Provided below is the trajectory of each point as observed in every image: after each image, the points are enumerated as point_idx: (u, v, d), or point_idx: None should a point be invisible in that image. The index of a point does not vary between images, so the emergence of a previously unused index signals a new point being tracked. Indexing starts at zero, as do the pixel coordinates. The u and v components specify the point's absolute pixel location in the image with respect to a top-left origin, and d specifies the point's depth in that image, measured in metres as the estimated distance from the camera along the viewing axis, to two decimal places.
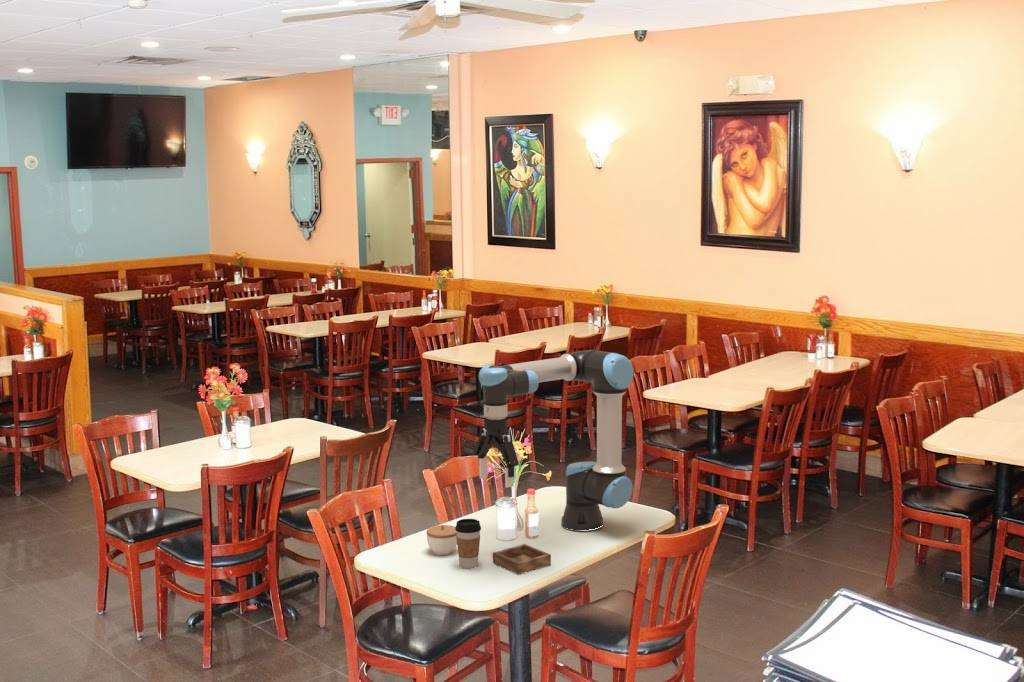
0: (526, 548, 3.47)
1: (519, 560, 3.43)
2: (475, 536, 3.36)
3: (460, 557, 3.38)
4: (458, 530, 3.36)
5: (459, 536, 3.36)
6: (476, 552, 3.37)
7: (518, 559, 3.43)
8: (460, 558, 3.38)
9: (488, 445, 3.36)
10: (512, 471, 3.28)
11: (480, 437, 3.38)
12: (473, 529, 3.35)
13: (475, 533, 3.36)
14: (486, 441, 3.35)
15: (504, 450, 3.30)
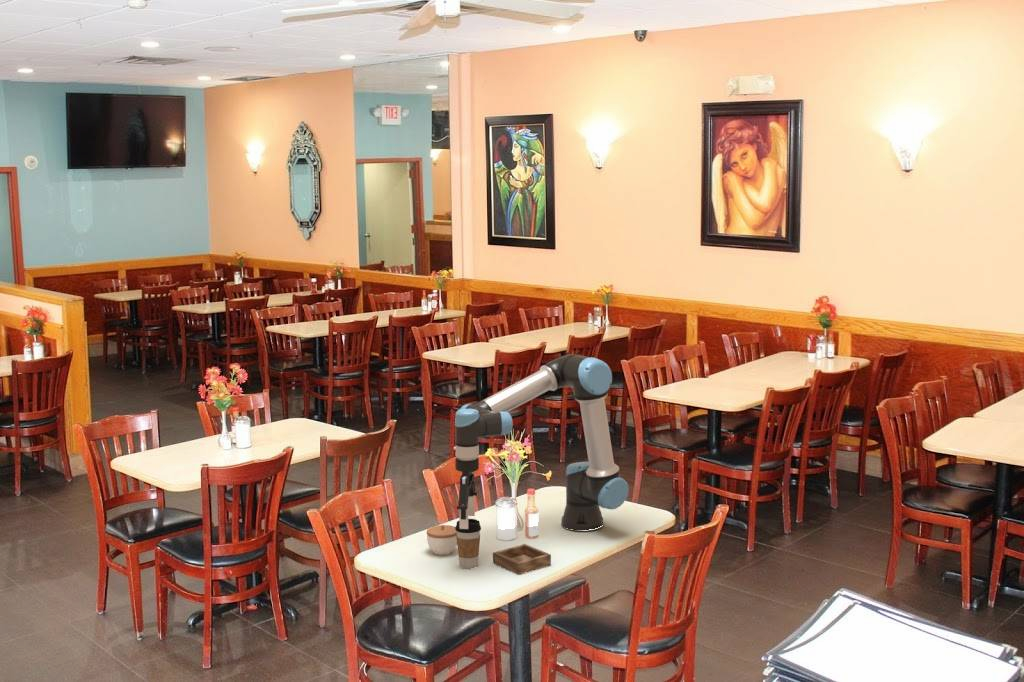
0: (526, 548, 3.47)
1: (519, 560, 3.43)
2: (475, 536, 3.36)
3: (460, 557, 3.38)
4: (458, 530, 3.36)
5: (459, 536, 3.36)
6: (476, 552, 3.37)
7: (518, 559, 3.43)
8: (460, 558, 3.38)
9: None
10: (463, 513, 3.29)
11: None
12: (473, 529, 3.35)
13: (475, 533, 3.36)
14: None
15: None
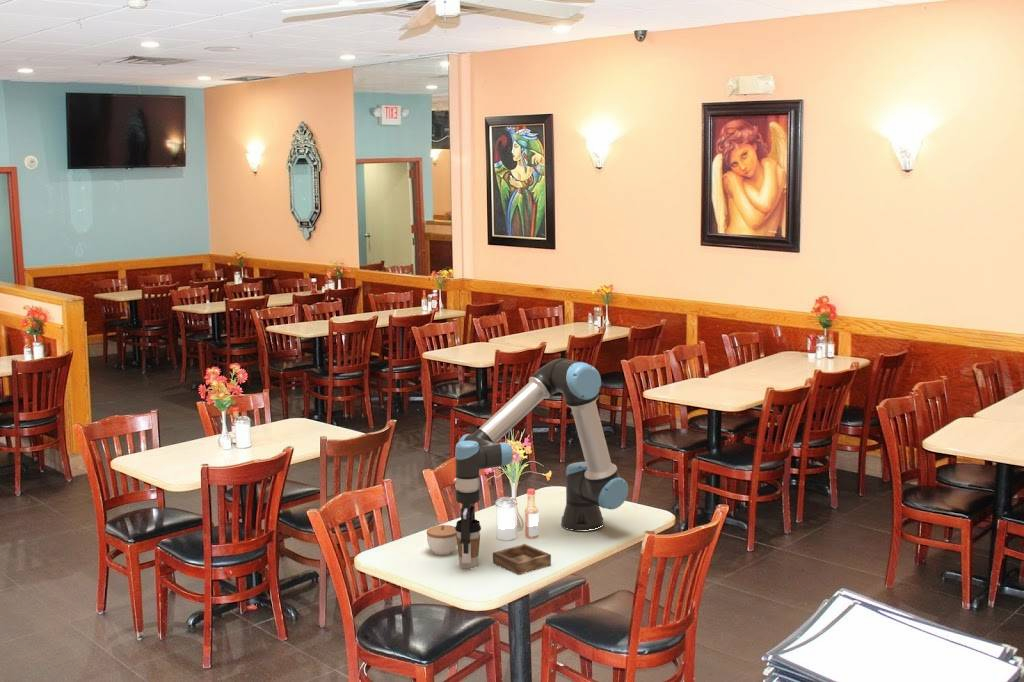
0: (526, 548, 3.47)
1: (519, 560, 3.43)
2: (475, 536, 3.36)
3: (460, 557, 3.38)
4: (458, 530, 3.36)
5: (459, 536, 3.36)
6: (476, 552, 3.37)
7: (518, 559, 3.43)
8: (460, 558, 3.38)
9: None
10: (465, 548, 3.34)
11: None
12: (473, 529, 3.35)
13: (475, 533, 3.36)
14: None
15: None
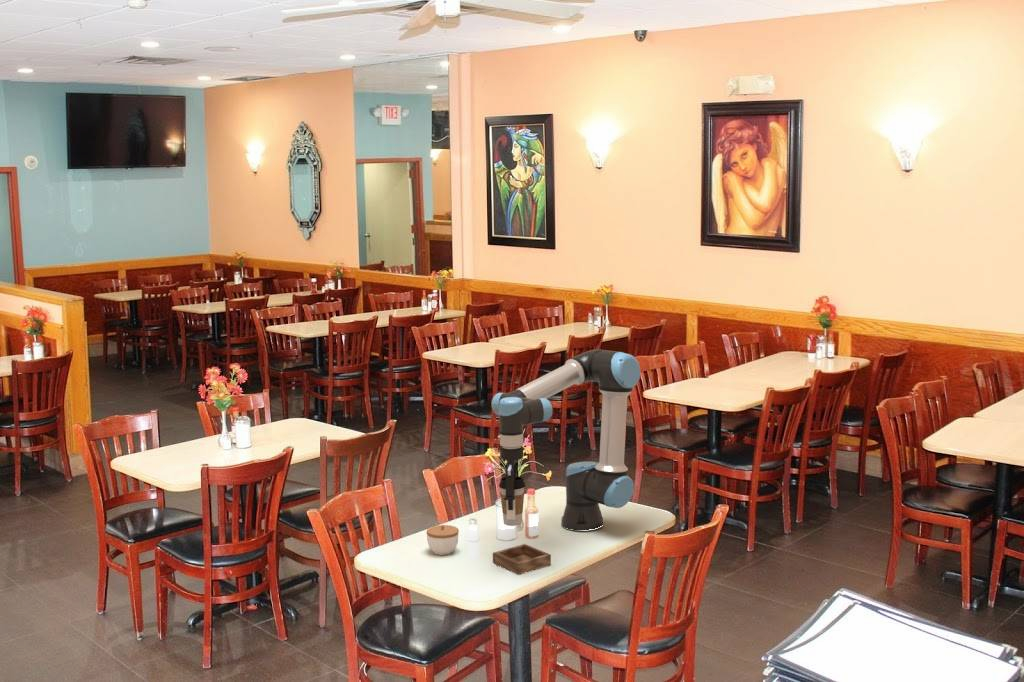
0: (526, 548, 3.47)
1: (519, 560, 3.43)
2: (519, 493, 3.35)
3: (504, 514, 3.37)
4: (502, 487, 3.35)
5: (503, 493, 3.35)
6: (520, 509, 3.36)
7: (518, 559, 3.43)
8: (504, 515, 3.37)
9: None
10: (510, 504, 3.33)
11: None
12: (518, 486, 3.34)
13: (519, 490, 3.35)
14: None
15: None
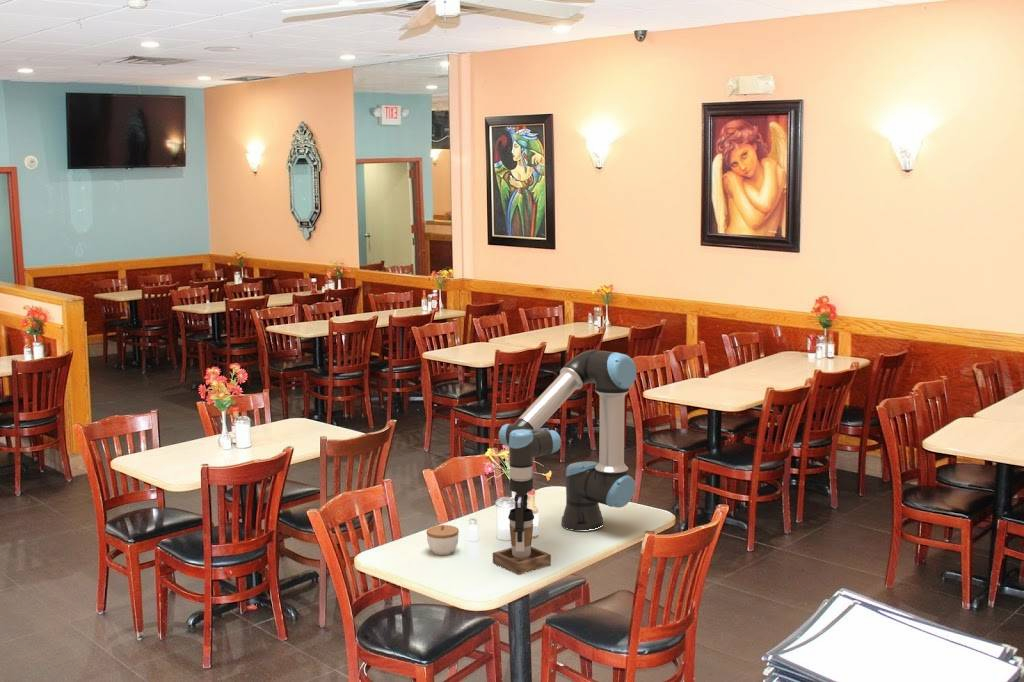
0: None
1: (519, 560, 3.43)
2: (528, 525, 3.36)
3: (513, 546, 3.38)
4: (512, 519, 3.36)
5: (512, 525, 3.37)
6: (529, 541, 3.38)
7: (518, 559, 3.43)
8: (513, 547, 3.38)
9: None
10: (519, 536, 3.34)
11: None
12: (527, 518, 3.35)
13: (528, 522, 3.36)
14: None
15: None
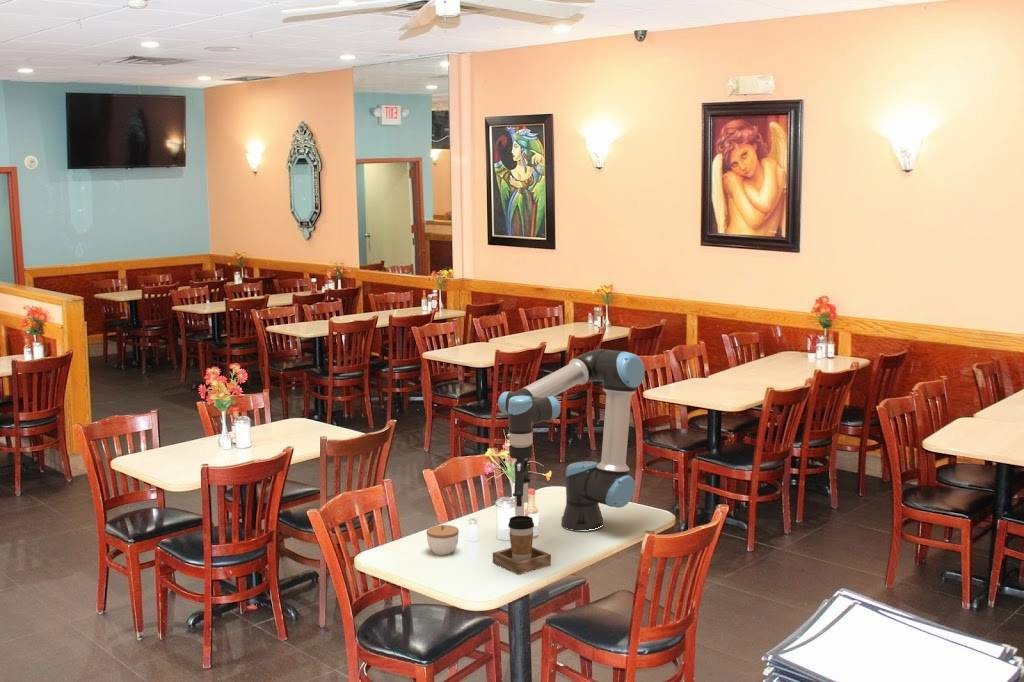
0: None
1: None
2: (529, 532, 3.37)
3: (513, 554, 3.38)
4: (512, 527, 3.36)
5: (513, 533, 3.37)
6: (530, 549, 3.38)
7: None
8: (514, 555, 3.39)
9: None
10: (519, 500, 3.30)
11: None
12: (527, 526, 3.36)
13: (529, 529, 3.36)
14: None
15: None
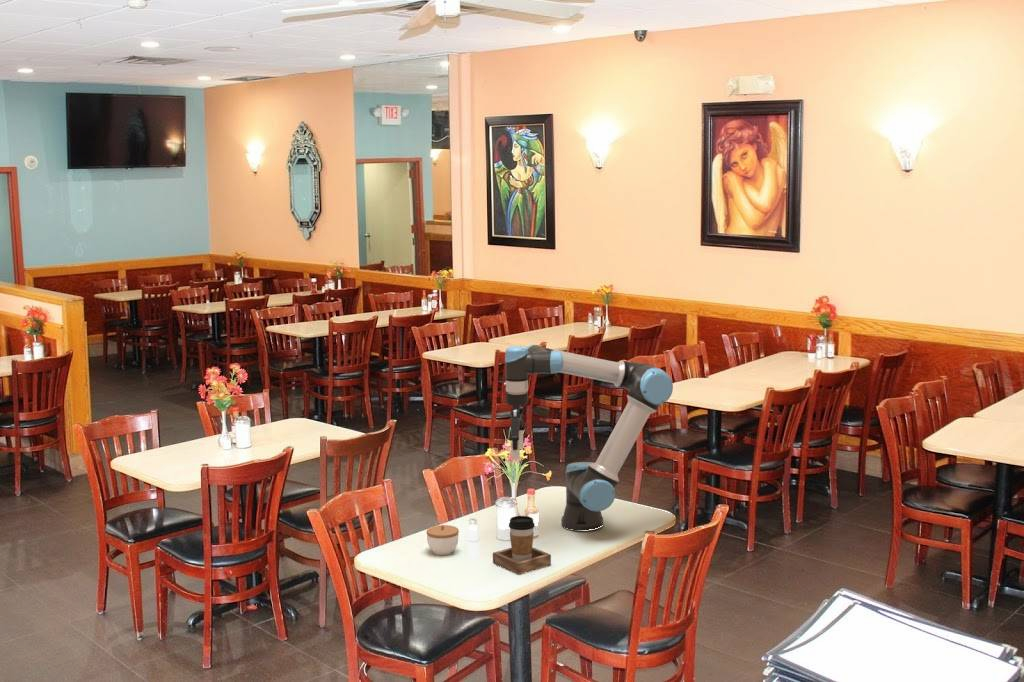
0: None
1: None
2: (529, 533, 3.37)
3: (514, 554, 3.38)
4: (512, 527, 3.36)
5: (513, 533, 3.37)
6: (530, 549, 3.38)
7: None
8: (514, 555, 3.38)
9: None
10: (515, 444, 3.48)
11: None
12: (528, 526, 3.35)
13: (529, 530, 3.36)
14: None
15: None
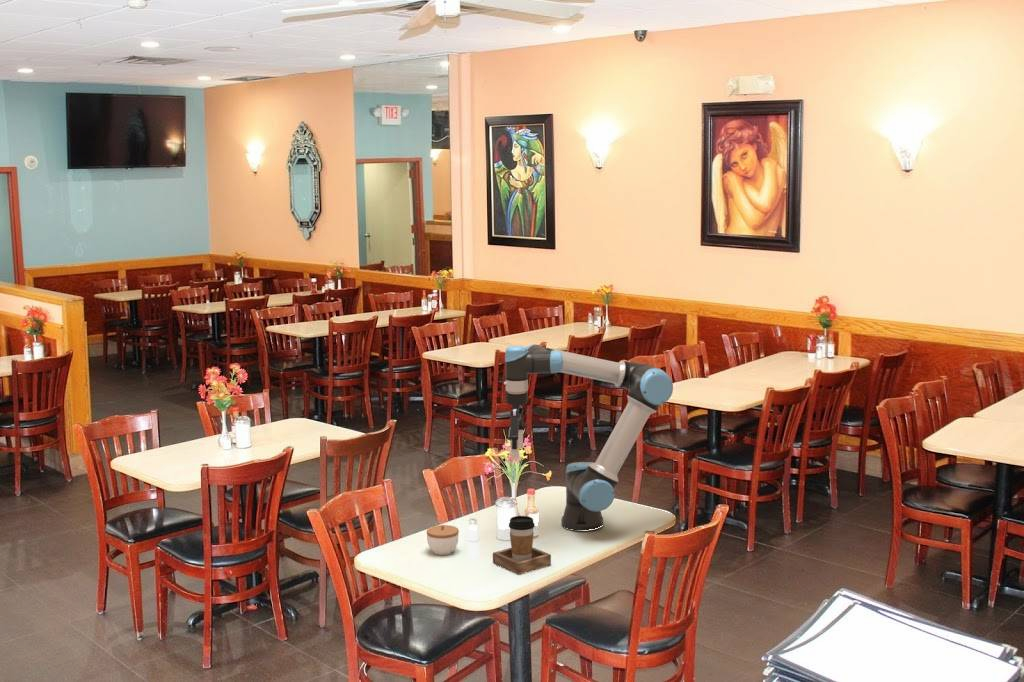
0: None
1: None
2: (529, 533, 3.37)
3: (514, 554, 3.38)
4: (512, 527, 3.36)
5: (513, 533, 3.37)
6: (530, 549, 3.38)
7: None
8: (514, 555, 3.38)
9: None
10: (514, 444, 3.48)
11: None
12: (528, 526, 3.35)
13: (529, 530, 3.36)
14: None
15: None
